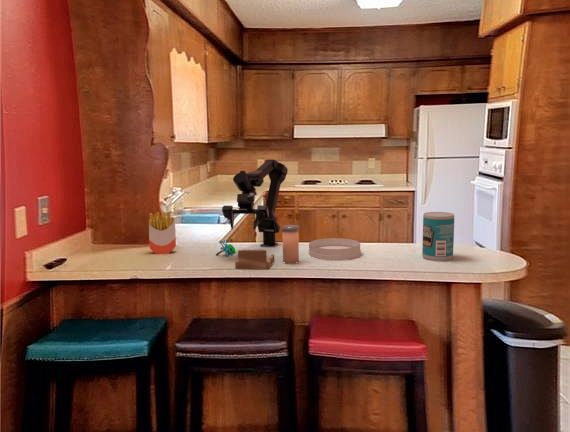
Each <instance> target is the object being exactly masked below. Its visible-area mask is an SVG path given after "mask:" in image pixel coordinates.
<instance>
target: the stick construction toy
mask: <svg viewBox="0 0 570 432" xmlns="http://www.w3.org/2000/svg"><path fill="white" fill-rule="evenodd" d="M218 242H219V243H220V245H221V247H220V249H221V250H220V251H218V252H217V253H216V254H215V255H216V256H217V257H218V256H219V255H220V254H221V253H225V254H226V255H225V256H226V257H229V256H231V257H232V256H234V254H236V252H237V251H236V249H235V247H234V245H232V243H231V244H230V243H229V244H228V243H227V241H226V239H224V240H223V241H222V240H219V241H218Z"/></svg>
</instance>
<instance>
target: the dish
mask: <svg viewBox="0 0 570 432" xmlns="http://www.w3.org/2000/svg"><path fill="white" fill-rule="evenodd" d="M361 251H362V250H361V242H360V241H358V240H355V239H349V238H341V237H340V238H338V237H337V238H336V237H333V238H332V237H329V238H319V239H315V240H312V241H309V243H308V255H310V256H311V258H312V257H314V258H313V259H315V258H317V259H316V260H320V259H322V261H333V260H334V261H348V260H354V259H357V258H359V257H361V254H362V252H361ZM310 256H309V257H310Z"/></svg>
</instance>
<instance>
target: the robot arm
mask: <svg viewBox="0 0 570 432" xmlns="http://www.w3.org/2000/svg"><path fill="white" fill-rule="evenodd" d="M287 175H288V167H287V166H286V165H285V164H283V163H281V162H279V161H277V160H276V159H266V160H265V161H264V162H263V163H262V164H261V165H260V166H259V167H258V168H257V169H256V170H253V171H249V172H246V170H240V171H239V172H238V173H237V174H235V175H234V176H233V177H232V180H233V183H234V184H235V186H236V188H237V189H238V190H239V191H241V193H237V194H236V195H237V197H236V203H237V207H238V208H234V207H233V205H232V204H231V205H223V206H222V207H221V211H222V215H223V217H224V218H225V219H226V220H228V221H229V224H230V229H231V230H233V229H234V225H235V223H234V222H235V215H238V214H240V215H241V214H242V215H255V218H254V222H253V228H252V229H253V230H256V229H258V233H262V241H263V242H262V243H261V244H260V246H261V247H276V246H277V245H278V244H279V242H276V234H277V233H278V234H279V233H280V230H281V227H280V225H279V223H278V222H277V221H278V218H277V215H276V208H277V203H278V198H279V193H280V188H281V184H282V183H283V182H285V180H286V178H287ZM266 176H268V177H269V180H270V183H269V188H268V191H267V198H266V200H265V205H264V204H263V205H257V208H254V206H255V201H256V200H255V199H256V196H257V195H258V194H257V189H256V187H259V188H260V187H261V186H262V185H263V183H264V181H265V180H264V178H266Z"/></svg>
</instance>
